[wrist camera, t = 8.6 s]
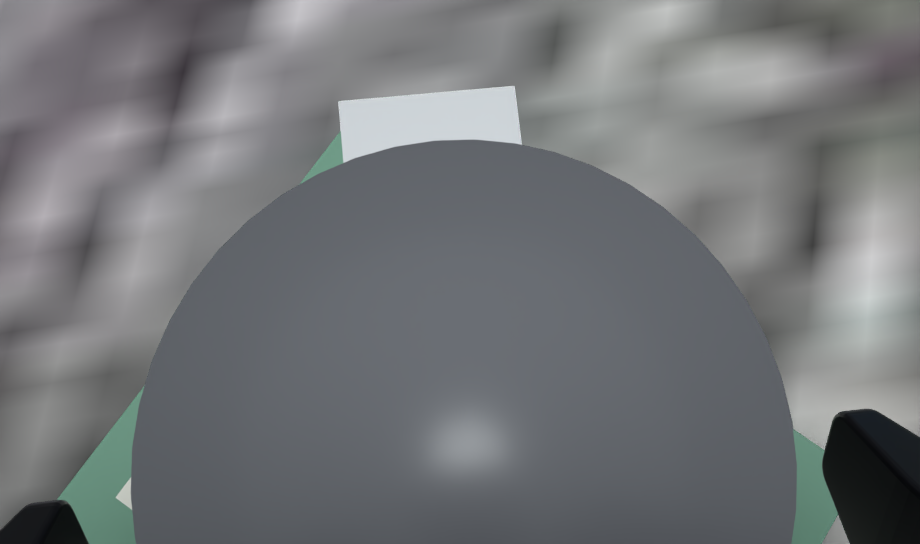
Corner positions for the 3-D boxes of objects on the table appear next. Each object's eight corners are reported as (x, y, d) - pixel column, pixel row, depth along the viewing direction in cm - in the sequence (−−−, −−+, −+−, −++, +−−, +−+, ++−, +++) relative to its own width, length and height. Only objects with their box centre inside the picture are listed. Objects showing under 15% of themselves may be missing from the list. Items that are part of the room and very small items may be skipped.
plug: (574, 543, 18) (854, 775, 6) (339, 570, 17) (143, 870, 6) (540, 281, 19) (724, 33, 7) (319, 303, 18) (117, 86, 7)
